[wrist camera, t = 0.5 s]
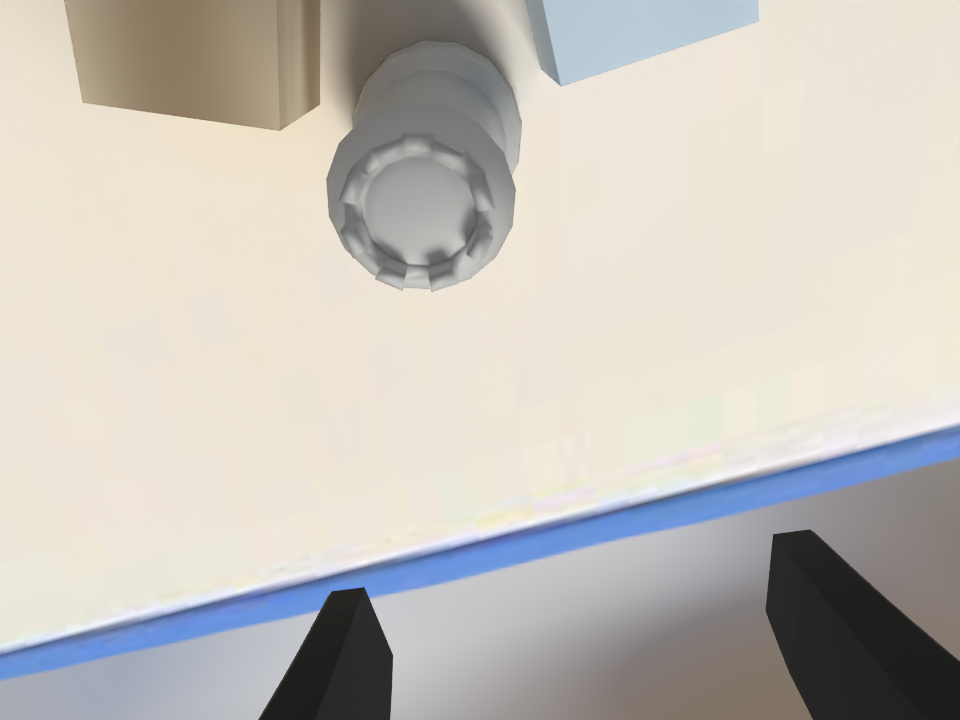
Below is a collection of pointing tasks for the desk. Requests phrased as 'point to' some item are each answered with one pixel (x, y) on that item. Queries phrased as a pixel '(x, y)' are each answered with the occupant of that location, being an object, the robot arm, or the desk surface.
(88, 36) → the beech block
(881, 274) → the desk surface
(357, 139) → the rook chess piece
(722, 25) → the pale blue block
